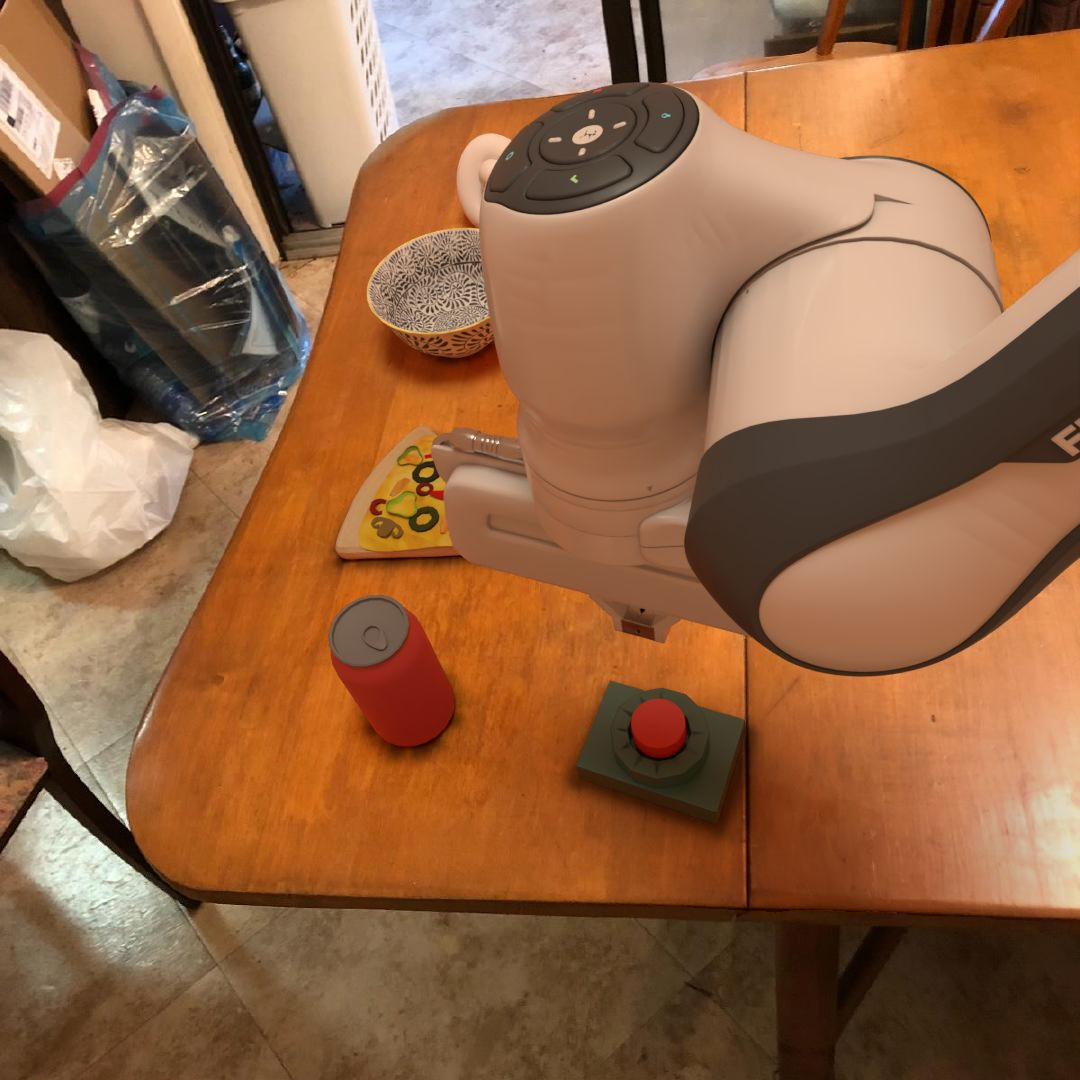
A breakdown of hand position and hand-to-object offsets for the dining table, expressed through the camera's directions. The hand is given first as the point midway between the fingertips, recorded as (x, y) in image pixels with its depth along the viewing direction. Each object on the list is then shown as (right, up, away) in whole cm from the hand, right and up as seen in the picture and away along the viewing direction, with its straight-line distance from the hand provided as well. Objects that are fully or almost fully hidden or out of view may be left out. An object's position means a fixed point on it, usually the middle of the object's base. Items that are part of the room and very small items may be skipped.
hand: (644, 627), depth 53 cm
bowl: (-14, +26, +45) cm, 54 cm away
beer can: (-15, -8, +19) cm, 26 cm away
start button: (+2, -8, +11) cm, 14 cm away
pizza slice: (-12, +7, +30) cm, 33 cm away
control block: (+3, -10, +14) cm, 18 cm away
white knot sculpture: (-9, +42, +56) cm, 71 cm away
